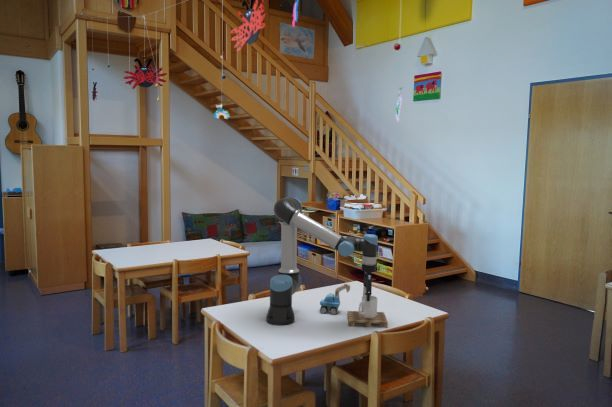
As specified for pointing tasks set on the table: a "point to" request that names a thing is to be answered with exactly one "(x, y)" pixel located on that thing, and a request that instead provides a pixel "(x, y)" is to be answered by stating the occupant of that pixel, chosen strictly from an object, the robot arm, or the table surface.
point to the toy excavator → (333, 300)
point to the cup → (368, 308)
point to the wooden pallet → (366, 319)
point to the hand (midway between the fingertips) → (366, 302)
